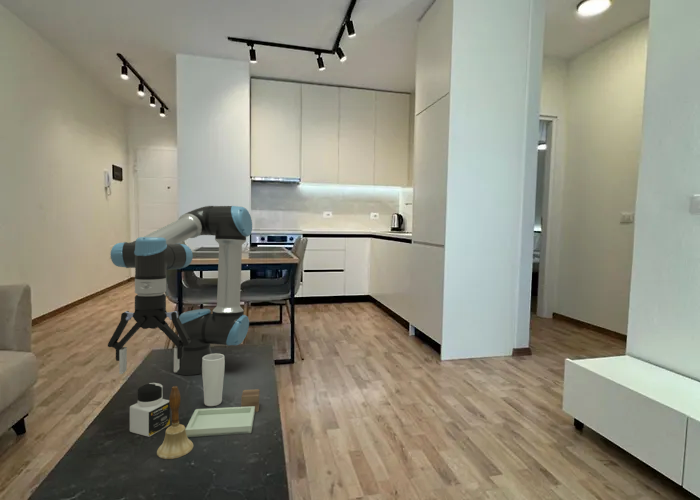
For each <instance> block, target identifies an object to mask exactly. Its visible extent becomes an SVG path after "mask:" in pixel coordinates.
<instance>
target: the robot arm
mask: <svg viewBox="0 0 700 500" xmlns="http://www.w3.org/2000/svg"><path fill="white" fill-rule="evenodd" d="M252 232H253V220H252V217H251V213H250V212H249V210H248V209H247V208H245V207H243V206H238V205H205V206H202V207H199V208H195V209H193V210H190V211H188V212H186V213H184V214H181V215H180V216H179V217H178V219H177V220H176V221H174V222H171V223H170V224H169V223H168V224H167V225H165V226H163V227H161V228H158V229H157V230H155V231H153V232H150V233H149V234H146V235H144V236H139V237H137V238H136V239H135V240H134V241H131V242H128V241H127V242H126V241H124V242H118V243H116V244H114V245H113V246H112V248H111V249H110V259H111V263H112V264H113V265H114V266H115V267H119V268H126V269H135V270H134V271H135V272H134V273H135V274H134V293H135V294H136V295H135V296H134V312H130V311H129V310H126V311H124V312H122V313H121V316H120V321H119V322H118V325H117V327H116V329H115V330H114V332H113V334H112V336H111V337H110V340H108V343H107V347H108V348H113V349H115V361H116V362H118V363H119V368H118V369H119V373H118V374H119V375H123V374H125V372H127V370H128V369H127V367H128V365H127V364H128V363H127V360H128V359H127V358H128V357H127V353H128V348H127V346H125V345H126V344H127V343H128V341H130V339H131V338H132V337H133V336H134V335H135V334H136V332H138V331H139V329H140V328H141V329H143V330H147V329H152V330H154V329H155V330H156V329H157V328H158V329H159V330H160V331H162V332H163V333H164V335H165V336H167V338H168V339H169V340H170V341H171V342H172V343H173V345H175V347H174V348H173V373H175V374H177V375H181V376H193V375H194V376H195V375H200V374H201V375H202V358H203V357H204V356H205V355H209V354H213V352H212V349H211V345H221V346H222V345H223V346H239V345H241V343H243V342H244V341H245V338H246V336H247V334H248V331H249V326H250V320H249V316H247V315H246V314H244V312H245V310H244V309H243V308H242V306H241V286H242V285H241V283H242V253H243V244H244V243H246V242H247V237H249V236H251V234H252ZM199 236H215V237H214V240H215V242H216V243H217V244H218V267H217V293H216V295H217V297H216V298H217V299H216V306H215V307H214V308H213V309H212V311H211V309H210V308H200V309H198V308H197V309H193V310H188V311H185V312H182V313H181V314H180V313H179V310H173V311H169V312H168V311H167V295H166V294H165V293H166V292H167V271H169V270H181V269H184V268H186V267H188V266H190V265H191V263H192V261H193V257H194V256H193V251H192V249H191V248H190V247H189V246H188V245H186V244H185V243H184V244H183V242H185V241H187V240H188V239H195V238H197V237H199ZM167 318H169V320H170V321H172V324H173V326H174V329H175V331H176V332H177V333H176V332H175V331H174V330H173V329H172V328H171V327H170V326H169V323H167V321H166V319H167ZM131 319H133V320H134V321H135V323H134V325H133V326H132V327H131V329H129V330H128V332H127V333H126V334H125V335H124V336H123V337H122V338H121V335H122V334H123V332H124V331H125V328H126V326H127V325H128V323H129V321H130V320H131ZM120 338H121V339H120ZM118 341H119V342H118Z"/></svg>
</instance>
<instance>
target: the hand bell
mask: <svg viewBox="0 0 700 500" xmlns="http://www.w3.org/2000/svg"><path fill="white" fill-rule="evenodd" d="M180 392H181V391H180V389H179V388H178V385H174V386H172V387H171V390H170V393H169V397H168V398H169V399H168V400H169V404H170V412H171V425H169V426H167V427H166V430H165V434H164V438H163V439H164V440H163V441H162V444H161V445H159V447H158V448H157V450H156V456H158V457H159V458H160V459H164V460H173V459H178V458H182V457H184V456H185V455H187V454H189V453H190V452H191V451H192V450H194V449H193V448H194V443H193V442H192V440H191V439H189V437H187V435H186V430H185V429H186V427H185V424H181V423H180V416H179V415H180V414H179V410H180V407H181V400H182V399H181V398H182V397H181V393H180Z"/></svg>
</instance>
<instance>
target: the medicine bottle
mask: <svg viewBox="0 0 700 500" xmlns="http://www.w3.org/2000/svg"><path fill="white" fill-rule="evenodd" d="M163 388H164V385H162V384H161V383H158V382H149V383H146V384H143V385H141V386H140V387H139V388H138V389H137V402H136V403H134V404H132V405H130V406H129V432H130V433H133V434H137V435H141V436H145V437H148V438H150V437H152V436H153V435H155V434H156V433H159V432H160V431H162V430H163V429H165V428H168V427H170V426H171V408H170V404H169V399H165V398H163V395H164V394H163V390H164V389H163Z"/></svg>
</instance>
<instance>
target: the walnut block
mask: <svg viewBox="0 0 700 500" xmlns="http://www.w3.org/2000/svg"><path fill="white" fill-rule="evenodd" d="M260 391H261V390H260V389H257V388H256V389H244V390H243V389H242V394H241V399H240V403H241V405H240V407H249V406H255V413H259V409H260V394H261V393H260Z"/></svg>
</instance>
